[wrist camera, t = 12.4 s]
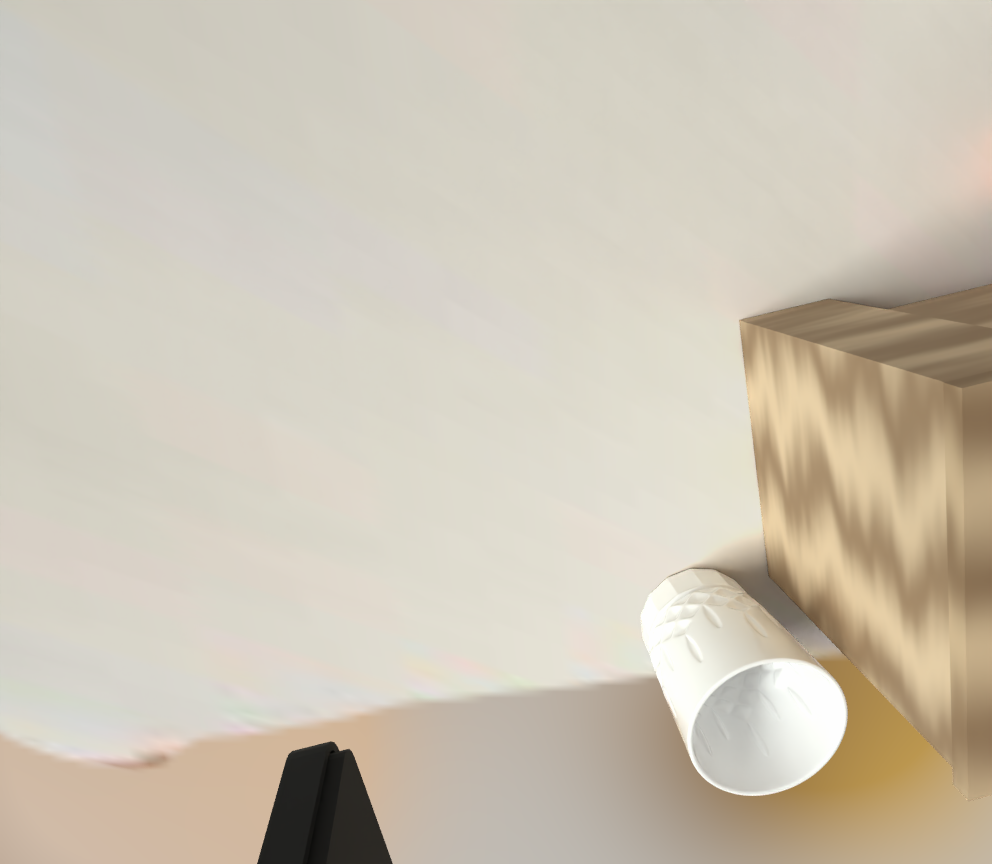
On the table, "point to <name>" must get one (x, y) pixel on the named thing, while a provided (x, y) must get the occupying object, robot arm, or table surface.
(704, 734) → the white cup
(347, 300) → the table surface
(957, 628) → the oak bench cabinet
